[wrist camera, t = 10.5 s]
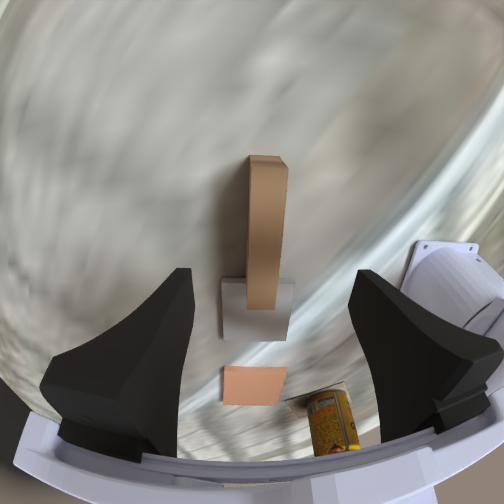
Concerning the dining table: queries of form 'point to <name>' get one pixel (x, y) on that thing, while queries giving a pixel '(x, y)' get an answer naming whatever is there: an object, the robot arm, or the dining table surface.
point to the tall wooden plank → (261, 261)
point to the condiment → (328, 419)
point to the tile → (253, 385)
